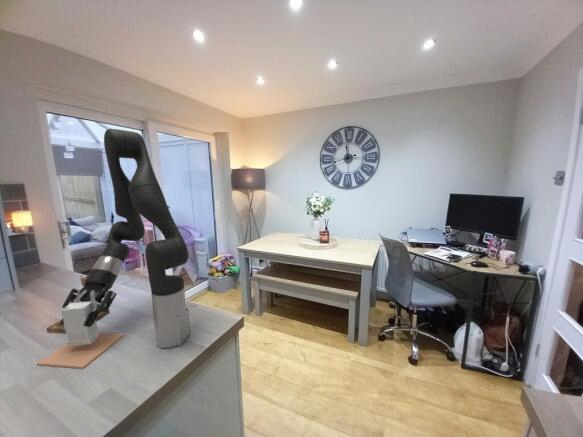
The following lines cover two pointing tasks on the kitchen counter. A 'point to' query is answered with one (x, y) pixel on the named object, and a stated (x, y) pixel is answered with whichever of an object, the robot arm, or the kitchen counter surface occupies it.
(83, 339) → the skincare box
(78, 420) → the kitchen counter surface
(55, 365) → the terracotta mat
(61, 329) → the walnut collar
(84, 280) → the snail figurine
